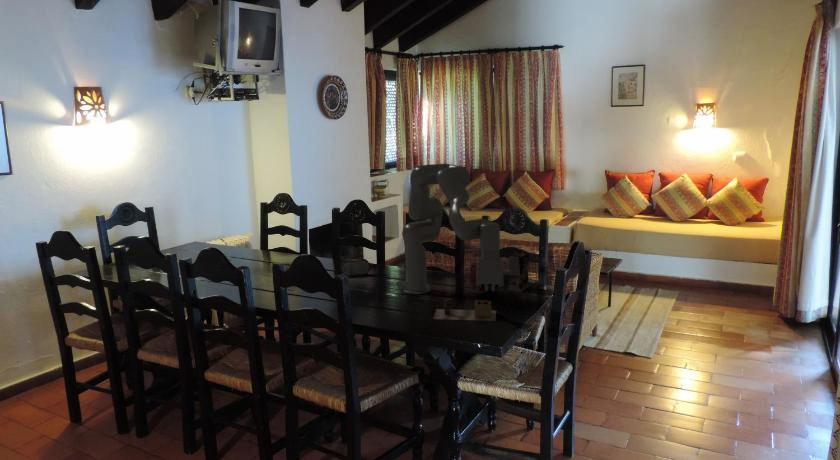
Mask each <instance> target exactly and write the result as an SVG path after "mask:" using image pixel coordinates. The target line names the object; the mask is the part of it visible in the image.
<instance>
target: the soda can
mask: <svg viewBox="0 0 840 460" xmlns="http://www.w3.org/2000/svg"><path fill="white" fill-rule="evenodd" d="M470 265H471V266H470V267H469V268H470V269H469V271H470V273H469V277H470V279H469V281H470V282H469V283H470V285H469V286H470V287H469V288H470V289H469V290H470V292H471V293H473V294H475V293H476V294H477V295H478V294H479V295H481V294H484V293H485V294H486V291H485V290H484V289H483V288H482V287H480V286H476V281H477V279H476V274H477V262H471V264H470Z"/></svg>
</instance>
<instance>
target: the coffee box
mask: <svg viewBox="0 0 840 460" xmlns="http://www.w3.org/2000/svg"><path fill="white" fill-rule="evenodd" d="M529 263H530V253H529V252H527V253H526V252H514V253H512V254H510V255H509V256H508V283H507V284H508V287H507V290H508V291H511V292H516V293H517V292H518V293H521V292H524V291H525V290H526V289H528V288H529V271H530V270H529V269H530V267H529V266H530V265H529Z"/></svg>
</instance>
